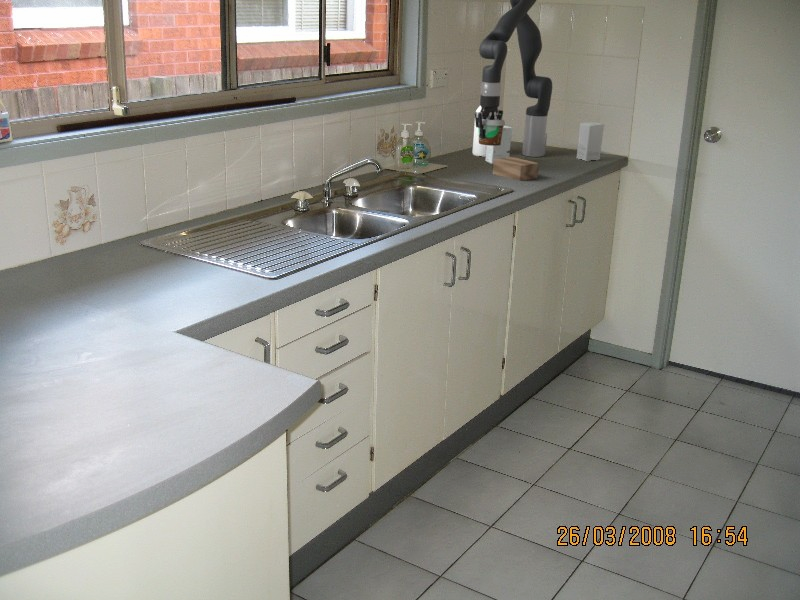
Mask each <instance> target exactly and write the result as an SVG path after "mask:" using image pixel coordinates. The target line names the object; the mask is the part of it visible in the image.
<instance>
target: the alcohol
mask: <svg viewBox="0 0 800 600" xmlns="http://www.w3.org/2000/svg"><path fill="white" fill-rule="evenodd" d="M480 111H481V106H480V105H479V106H478V107H477V109H476V110H475V113H476V112H477V113H478V112H480ZM473 127H474V128H473V140H472V141H473V142H472V152H471V153H472V155H473V156H475V157H479V156H482V158H486V150H487V145H482V144H479V129H478V127H476V122H475V121H474V126H473Z"/></svg>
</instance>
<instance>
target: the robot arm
mask: <svg viewBox="0 0 800 600" xmlns="http://www.w3.org/2000/svg"><path fill="white" fill-rule="evenodd" d="M509 2H510V3H509V4H510V6H511V8H510V9H509V10H508V11H506V12H505V13H504V14H503V15H502V16H501V17H500V18H499V19H498V21H497V23H496V25H495V27H494V29H493V30H492V31H490V33H489V34H488V35H487V36H485V37H484V38H483V39H482V41H481V42H480V45H479V48H478V54H479V56H480V57H481V58H483V59H485V60H494V62H493V63H492V64H490V65H486V66H485V65H484V67H483V69H482V76H481V77H482V78H481V85H480V97H479V98H480V100H479V106H481V111H480V112H478V113H477V112H476V111H475V113H474V123H475V122H476V127H478V128H480V135H479V136H480V138H481V139H485V128H486V125H485V123H486V122H487V120H503V116H504V115H503V114H504V110H501V109H499V107H500V103H501V91H502V90H501V87H502V86H501V77H502V70H503V66H504V63H505V61H506V57H507V54H508V46H507V43H508V42H509V40H510V39H511V37H512V35H513V34H514V32H515V29H516V35H517V42H518V47H519V53H520V58H521V59H520V60H521V65H522V79H523V81H522V82H523V91H524V93H525V96H526V97H528V98H529V99H535V100H537V102H536V104H535V105H534V104H533V105H530V106H528V107H526V109H525V121H524V132H523V140H522V152H521V155H522V154H523V156H525V157H532V158H540V157H541V156H542V157H544V156H545V155H546V146H547V137H548V133H547V124H548V114H549V111H550V106H551V100H552V93H553V81H552V78H550V77H549V76H539V75H536V70H535V65H536V62H537V61H538V59H539V56H540V54H541V52H542V49H543V44H542V43H543V42H542V36H541V31H540V28H539V26H538V25H537V24H536V23H535V22H534V20H533V19H532V17H530V15H529V13H528V12H529V11H530V9H532V7H533V6H534V5H535V3H536V2H537V0H509ZM482 119H486V122H485V123H484V125H483V126H482Z"/></svg>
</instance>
